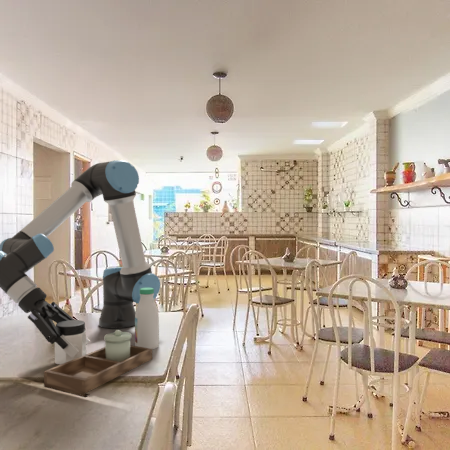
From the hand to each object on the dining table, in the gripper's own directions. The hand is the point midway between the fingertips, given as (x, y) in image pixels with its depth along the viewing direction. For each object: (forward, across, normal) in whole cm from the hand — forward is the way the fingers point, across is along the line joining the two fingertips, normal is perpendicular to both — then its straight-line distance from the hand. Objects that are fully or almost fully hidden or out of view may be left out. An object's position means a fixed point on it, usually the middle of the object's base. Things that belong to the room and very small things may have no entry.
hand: (81, 349), depth 125 cm
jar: (+1, 0, -6) cm, 6 cm away
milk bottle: (+15, -14, +8) cm, 22 cm away
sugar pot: (+10, +2, +6) cm, 12 cm away
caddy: (+9, +8, +3) cm, 12 cm away
